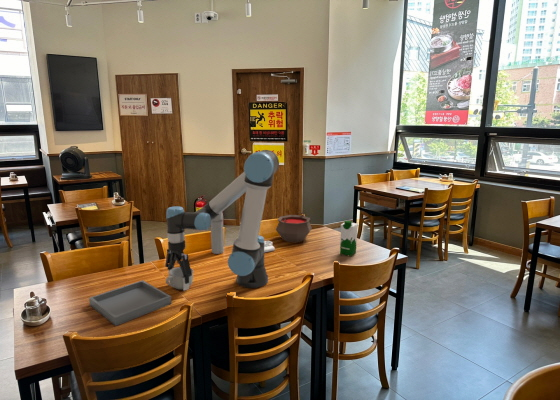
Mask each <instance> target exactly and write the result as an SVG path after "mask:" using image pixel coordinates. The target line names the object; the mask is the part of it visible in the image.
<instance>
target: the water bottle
mask: <svg viewBox="0 0 560 400" xmlns="http://www.w3.org/2000/svg"><path fill="white" fill-rule="evenodd" d="M223 214H224V213H223V211H222V212H221V213H220V214H219V215H218V216H217V217H216V218H215V219H214V220H212V221H211V225H210V241H211V243H210V244H211V253H212V254H214V255H221V254H223V253H224V251H225V249H224V248H225V247H224V215H223Z"/></svg>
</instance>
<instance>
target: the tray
mask: <svg viewBox="0 0 560 400" xmlns="http://www.w3.org/2000/svg"><path fill="white" fill-rule="evenodd" d="M88 299H89V306H90V307H91V308H92V309H93V310H95V311H96V312H97V313H99V314H100V315H101V316H103V317H104V318H105V319H106V320H108V321H109V322H110V323H111V324H112V325H113V326H115V327H117V326H120V325H122V324H124V323H127V322H130V321H132V320H134V319H137V318H140V317H142V316H145V315H147V314H150V313H153V312H154V311H157V310H160V309H161V308H165V307H167V306H170V305H172V296H171V295H169V294H167V292H164V291H163V290H160V289H159V288H157V287H155V286H153V285H152V284H150V283H148V282H146V281H145V280H143V279H142V280H139V281H136V282H133V283H130V284H126V285H124V286H120V287H118V288H115V289H112V290H111V289H110V290H109V291H105V292H102V293H100V294H97V295H93V296H90V297H89V298H88Z"/></svg>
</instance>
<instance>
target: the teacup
mask: <svg viewBox="0 0 560 400" xmlns="http://www.w3.org/2000/svg"><path fill="white" fill-rule="evenodd" d="M191 272H192V276H189V287H190V286H192V284H193V282H194V281H193V280H194V269H193V268H191ZM169 273H170V276H169V275H168V276H167V277H166V278H165V283H166V284H167V285H168V286H170V287H172V288H174V289H176V290H183V273H182V270H181V268H180V266H178V267H175V268H172V269H171V270H170V272H169V271H168V274H169ZM169 279H170V283H169Z"/></svg>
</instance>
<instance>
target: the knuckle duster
mask: <svg viewBox="0 0 560 400" xmlns="http://www.w3.org/2000/svg"><path fill="white" fill-rule="evenodd" d="M264 242H265V244H264V253H268V252H274V251H275V249H276V248H275V246H273V241H271V240H264Z"/></svg>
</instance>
